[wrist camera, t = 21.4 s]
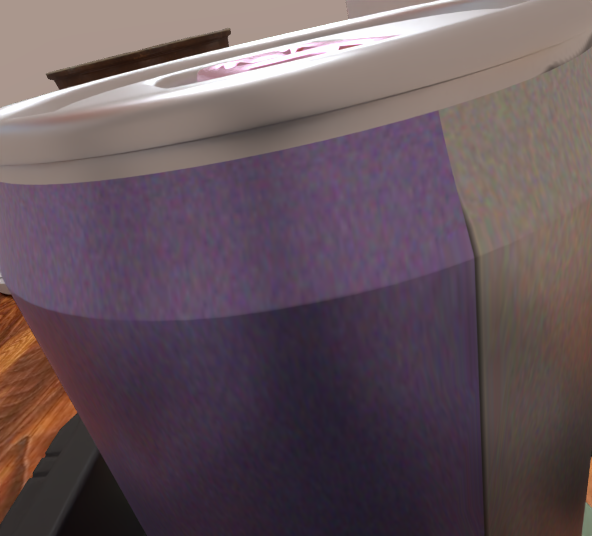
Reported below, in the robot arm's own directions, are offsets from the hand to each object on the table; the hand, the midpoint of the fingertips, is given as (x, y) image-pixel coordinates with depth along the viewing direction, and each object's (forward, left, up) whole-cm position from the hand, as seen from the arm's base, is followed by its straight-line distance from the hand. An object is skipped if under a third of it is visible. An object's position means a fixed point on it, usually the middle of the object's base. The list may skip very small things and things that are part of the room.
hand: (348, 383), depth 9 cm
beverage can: (-2, -1, -9) cm, 9 cm away
